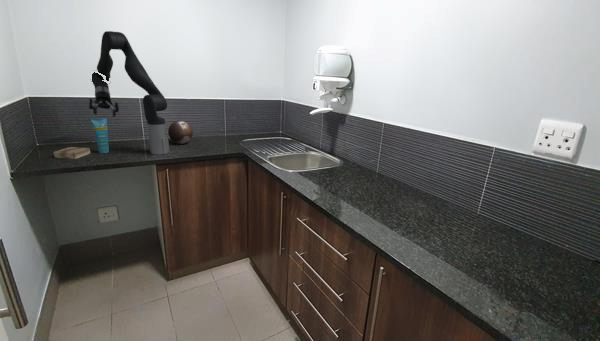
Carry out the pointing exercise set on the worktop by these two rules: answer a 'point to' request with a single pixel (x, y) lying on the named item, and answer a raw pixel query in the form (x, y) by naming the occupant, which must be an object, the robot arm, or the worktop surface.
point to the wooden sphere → (180, 132)
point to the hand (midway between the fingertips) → (105, 114)
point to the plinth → (71, 152)
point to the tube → (101, 134)
